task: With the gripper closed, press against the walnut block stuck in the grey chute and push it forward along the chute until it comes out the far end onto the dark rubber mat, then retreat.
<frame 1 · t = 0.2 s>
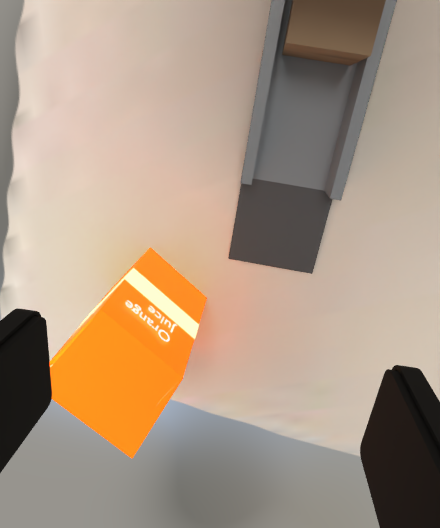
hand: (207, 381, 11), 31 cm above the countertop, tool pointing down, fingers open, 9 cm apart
chute: (309, 85, 35), on the countertop
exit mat: (278, 226, 40), on the countertop
orange juice: (158, 292, 45), on the countertop
block: (331, 10, 29), point 4 cm above the countertop, slide at 0.0 cm
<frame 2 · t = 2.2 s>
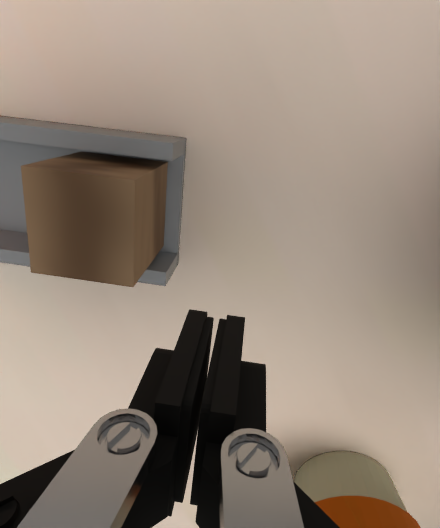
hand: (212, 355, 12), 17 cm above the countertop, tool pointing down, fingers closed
chute: (61, 189, 28), on the countertop
reusable coffee cup: (341, 484, 36), on the countertop
block: (104, 212, 24), point 4 cm above the countertop, slide at 0.0 cm
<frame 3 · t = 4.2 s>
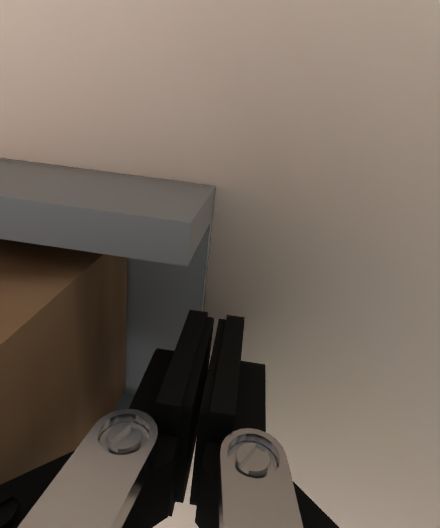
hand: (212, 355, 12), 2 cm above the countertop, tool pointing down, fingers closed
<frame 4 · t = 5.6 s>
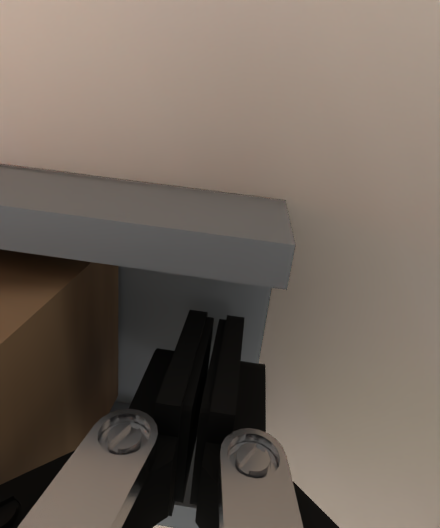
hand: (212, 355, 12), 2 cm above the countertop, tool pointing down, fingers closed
chute: (10, 294, 14), on the countertop
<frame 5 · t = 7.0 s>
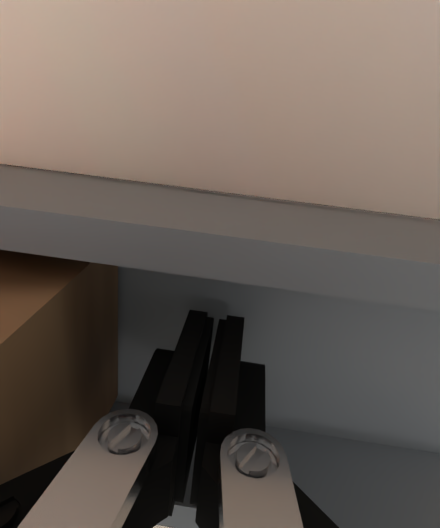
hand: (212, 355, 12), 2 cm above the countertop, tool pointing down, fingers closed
chute: (216, 325, 13), on the countertop
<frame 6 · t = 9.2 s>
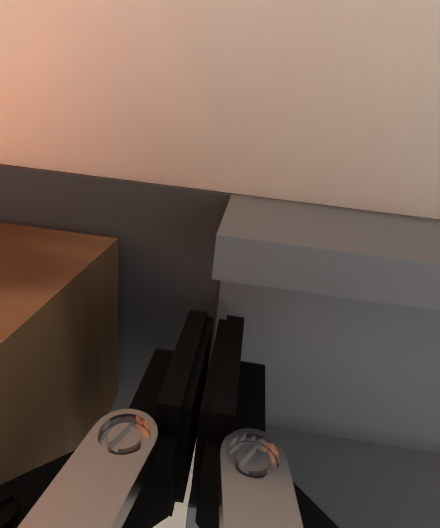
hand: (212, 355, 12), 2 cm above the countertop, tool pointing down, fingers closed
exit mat: (89, 306, 13), on the countertop
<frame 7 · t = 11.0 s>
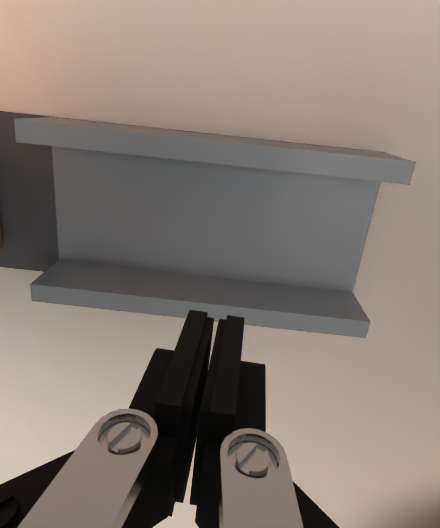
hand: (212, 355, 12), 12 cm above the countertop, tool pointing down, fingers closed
chute: (211, 216, 22), on the countertop
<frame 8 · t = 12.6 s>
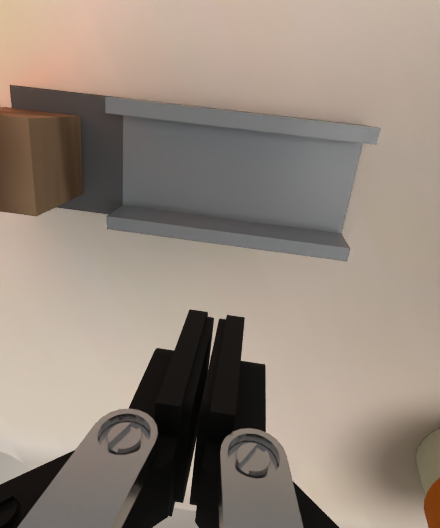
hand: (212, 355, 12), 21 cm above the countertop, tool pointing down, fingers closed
chute: (235, 173, 30), on the countertop
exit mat: (71, 153, 31), on the countertop
block: (19, 157, 27), point 4 cm above the countertop, slide at 20.2 cm
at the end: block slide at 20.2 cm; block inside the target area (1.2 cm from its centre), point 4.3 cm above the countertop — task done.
